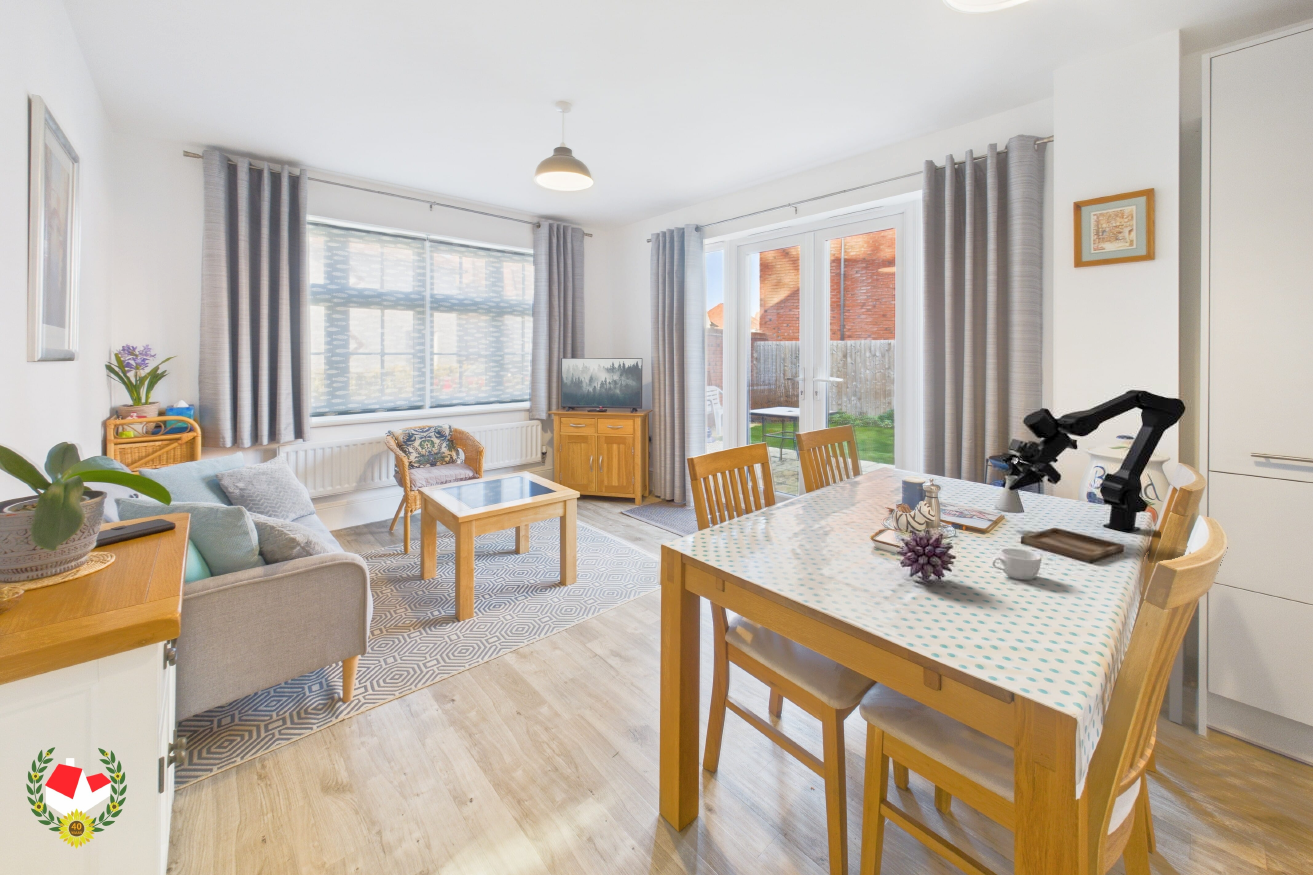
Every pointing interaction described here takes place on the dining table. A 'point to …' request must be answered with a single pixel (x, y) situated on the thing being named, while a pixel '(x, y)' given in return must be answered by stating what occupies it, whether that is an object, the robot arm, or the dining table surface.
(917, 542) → the flower
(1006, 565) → the teacup
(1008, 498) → the flask
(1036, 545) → the walnut tray
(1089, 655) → the dining table surface
